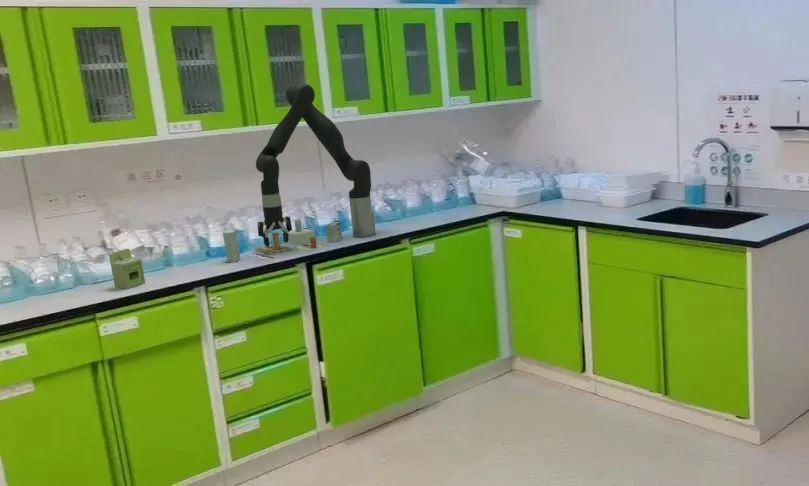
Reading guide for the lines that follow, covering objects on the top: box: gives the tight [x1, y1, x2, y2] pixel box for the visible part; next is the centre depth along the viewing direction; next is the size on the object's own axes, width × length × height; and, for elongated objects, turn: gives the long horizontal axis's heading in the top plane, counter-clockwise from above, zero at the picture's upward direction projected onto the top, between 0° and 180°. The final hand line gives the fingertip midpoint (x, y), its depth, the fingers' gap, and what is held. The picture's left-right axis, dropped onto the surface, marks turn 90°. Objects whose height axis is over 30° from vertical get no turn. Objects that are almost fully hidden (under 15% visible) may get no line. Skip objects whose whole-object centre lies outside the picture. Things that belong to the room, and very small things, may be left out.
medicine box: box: [325, 221, 343, 243], centre depth 322 cm, size 8×4×9 cm, turn 168°
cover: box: [282, 218, 316, 246], centre depth 325 cm, size 9×11×11 cm
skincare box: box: [222, 229, 241, 263], centre depth 305 cm, size 6×4×12 cm
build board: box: [254, 244, 294, 259], centre depth 312 cm, size 10×14×2 cm
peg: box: [272, 232, 281, 250], centre depth 309 cm, size 2×2×9 cm
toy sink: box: [108, 248, 146, 290], centre depth 277 cm, size 8×7×13 cm
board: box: [293, 236, 328, 251], centre depth 314 cm, size 10×12×6 cm
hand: (276, 244), depth 309 cm, fingers open, 8 cm apart
